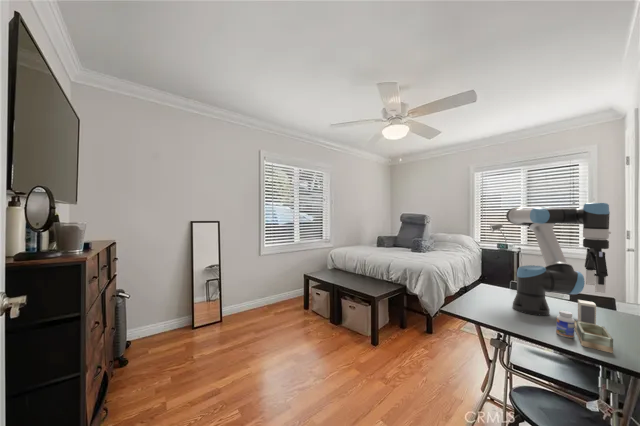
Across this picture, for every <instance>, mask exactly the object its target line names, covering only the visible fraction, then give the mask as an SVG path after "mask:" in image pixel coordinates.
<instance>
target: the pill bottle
mask: <svg viewBox="0 0 640 426" xmlns="http://www.w3.org/2000/svg"><path fill="white" fill-rule="evenodd" d="M574 321H575V319H574V318H573V313H572V312H570V311H567V310H559V312H558V315H557V316H556V327H555V329H556V331H555V332H556V334H557V335H559V336H561V337H563V338H569V339H573V338H575V328H574Z"/></svg>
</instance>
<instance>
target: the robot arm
mask: <svg viewBox="0 0 640 426" xmlns="http://www.w3.org/2000/svg"><path fill="white" fill-rule="evenodd" d="M610 215H611V211H610V204H608V203H606V202H586V203H584V204H583V207H548V206H517V207H516V206H515V207H512V208H510V209H508V210H507V212H506V214H505V216H506V217H505V218H506V220H507V221H508V223H510V224H513V225H516V226H527V227H528V229H529V230H530V231H531V232H533V234H534V235H535V238H536V242H537V244H538V247H539V249H540V252H541V256H542V257H543V260H544V264H545V266H543V265H532V264H531V265H528V264H527V265H521V266H519V267H518V268H517V271H516V272H517V273H516V295H515V297H514V299H513V301H512V308H513V309H514V310H516V311H518V312H521V313H525V314H529V315H533V316H534V315H535V316H539V317H540V316H544V317H545V316H549V315H550V313H551V312H550V311H551V310H550V307H549V304H548V302H547V299H546V293H552V294H554V293H555V294H563V295H578V294H581V293H582V292H583V290H584V288H585V285H587V286H594V287H595V288H594V291H595V293H601V294H602V293H603V294H606V286H607V285H606V281H607V280H606V278H607V277H608V276H609V272H608V267H607V261H606V252H605V251H603V250H608V249H609V248H610V241H609V240H608V239H609V237H610V234H611V233H612V232H611V231H610V230H609V229H610ZM556 224H560V225H582V237H583V239H582V247H584V248H586V255H585V263H584V265H583V266H584V268H585V277H584V274H583V273H582V272H580V271H578V270H575V269H574V267H573V265H572V264H570V263H567V260H566V257H565V255H564V253H563V250H562V248H561V245H560V243H559V241H558V238H557V236H556V233H555V231H554V227H555V225H556Z"/></svg>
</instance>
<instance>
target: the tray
mask: <svg viewBox="0 0 640 426" xmlns="http://www.w3.org/2000/svg"><path fill="white" fill-rule="evenodd" d="M574 332H575V333H576V335H577V338H578V340H579V342H580V345H581V346H582V347H586V348H590V349H593V350H598V351H603V352H606V353H609V354H610V353H611V354H614V338H613V336H611V334H610V333H609V332H608V330H607V329H606V327H605V326H602V325H598V324H596V325H592V324H587V323H582V322H578V320H574Z"/></svg>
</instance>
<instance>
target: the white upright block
mask: <svg viewBox="0 0 640 426" xmlns="http://www.w3.org/2000/svg"><path fill="white" fill-rule="evenodd" d="M577 321H578V322H582V323H587V324H592V325H597V305H596V303H595V302H593V301H588V300H582V299H577Z"/></svg>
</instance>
